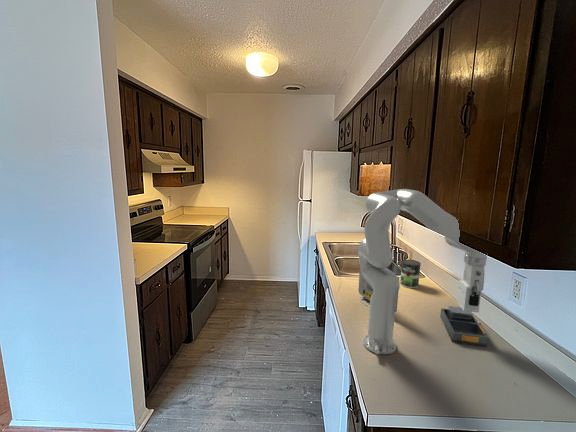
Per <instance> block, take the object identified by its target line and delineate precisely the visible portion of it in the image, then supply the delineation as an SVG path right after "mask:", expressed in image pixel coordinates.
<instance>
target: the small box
mask: <svg viewBox="0 0 576 432" xmlns="http://www.w3.org/2000/svg"><path fill="white" fill-rule="evenodd" d="M472 288H476V287H472ZM474 292H476V290H473V293H474ZM470 295H471V289H470V288H469V286H468V285H467V284H466V283H465V281H464V280H463V279H459V280H458V288H457V296H456V298H457V299H456V304H457V305H458V307H461V308H462V309H463V311H466V312H471V313H479V312H480V306H481V305H480V304H481V296H482V291H481V292H480V297H479V303H478V306H472V305H469V298H470Z"/></svg>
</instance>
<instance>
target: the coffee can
mask: <svg viewBox="0 0 576 432" xmlns="http://www.w3.org/2000/svg"><path fill="white" fill-rule="evenodd" d="M421 266H422V263H421V262H420V261H419V260H418V261H417V260H416V259H401V272H400V279H399V282H400V286H402V287H404V288H408V289H416V288H419V284H420V283H419V281H420V274H421Z"/></svg>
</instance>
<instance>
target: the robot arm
mask: <svg viewBox="0 0 576 432" xmlns="http://www.w3.org/2000/svg"><path fill="white" fill-rule="evenodd" d="M365 208H366V210H367V211H368V212H369V213H370V214H369V216H368V217H367V219H366V222H365V223H364V237H365V238H363V239H362V240H361V241H360V242H359V244H358V248H357V249H358V250H357V254H358V260H359V267H360V266H361V272H362V275H363V278H364V279H365V281H366V282H367V283H368V284H369V285H370V286H371V287H372V288H373V294H372V296H371V299H370V301H369V304H370V308H368V325H367V326H368V328H367V335H365V336H364V337H363V340H362V344H363V346H364V348H366V349H367V350H369V351H371V352H372V353H374V354H376V355H391V354H394V353H395V352H396V351H397V343H396V341H395V340H394V339H393V338H394V327H395V317H396V316H395V315H396V314H395V306H396V299H397V295H398V296H399V291H400V287H401V284H400V278H399V279H398V277H399V276H398V275H396V274H395V272H393V270H391V269H390V268H388V267H389V266H390V265H391V264H392V261H393V253H392V246H391V241H390V233H389V231H390V226H391V224H392V222H394V220H395V219H396V218H397V217H398V216H399V214H400V212H401V211H403V212H406V213H409V214H410V215H411V216H412V217H413V218H415V219H416V220H418V221H419V222H420V223H422V224H423V225H424V226H425V227H426V228H428V229H430V230H431V231H433V232H435V233H437V234H439V235H441V236H444V240H445V242H446V244H448V245H449V246H451V247H453V248H456V249H457V250H460V251H464V255H463V256H464V257H463V263H464V264H465V265H464V269H463V277H462V280H464V281H465V283H466V284H467V285H468V286H469V288H470V289H471V295H470V298H469V305H472V306H478V303H479V297H480V292H481V293H482V292H483V291H484V286H485V285H484V284H485V266H486V265H487V257H488V255H487V256H486V255H484V254H482V253H480V252H478V251H476V250H474V249H472V248H470V247H468V246H466V245H464V244H462V243H460V242H459V237H460V230H459V223H458V220H459V219H458V218H457V217H455V216H454V215H452V214H450V213H449V212H447V211H445V210H444V209H443V208H441V206H439V205H438V204H437V203H436V202H434V201H433V200H432V199H430V198H429V197H428V196H427V195H426V194H424V193H423V192H421V191H419V190H414V189H408V188H400V189H393V190H386V191H378V192H374V193H371V194H370V195H369V196H367V198H366V200H365ZM456 218H457V219H458V220H457V219H456ZM397 276H398V277H397ZM472 287H476V288H472ZM473 290H476V292H474V293H473ZM480 298H481V297H480Z"/></svg>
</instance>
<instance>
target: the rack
mask: <svg viewBox="0 0 576 432" xmlns="http://www.w3.org/2000/svg"><path fill="white" fill-rule="evenodd" d="M439 314H440V319H441V321H442V323H443V325H444V327H445V329H446V331H447V335H448V336H449V339H450V341H451V342H453V343H458V344H459V343H460V344H465V345H472V346H478V347H485V348H487V347H488V341H489V337H488V336H487V333H486V331H485V330H484V328H483V327H482V326H481V325H480V324H479V322H478V320H477V319H476V318H475V316H474V315H473V312H471V314H472V319H471V322H464V321H456V320H449V319H448V318H447V314H448V308H440V313H439Z"/></svg>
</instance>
